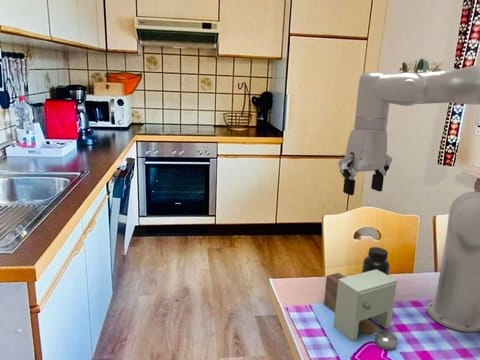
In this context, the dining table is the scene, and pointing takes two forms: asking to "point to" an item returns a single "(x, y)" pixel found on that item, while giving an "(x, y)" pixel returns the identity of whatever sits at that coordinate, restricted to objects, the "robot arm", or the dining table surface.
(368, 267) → the supplement bottle
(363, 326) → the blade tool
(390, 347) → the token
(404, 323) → the dining table surface
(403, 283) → the dining table surface
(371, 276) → the cabinet
